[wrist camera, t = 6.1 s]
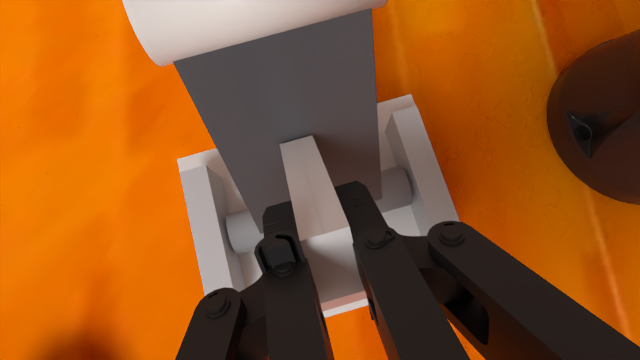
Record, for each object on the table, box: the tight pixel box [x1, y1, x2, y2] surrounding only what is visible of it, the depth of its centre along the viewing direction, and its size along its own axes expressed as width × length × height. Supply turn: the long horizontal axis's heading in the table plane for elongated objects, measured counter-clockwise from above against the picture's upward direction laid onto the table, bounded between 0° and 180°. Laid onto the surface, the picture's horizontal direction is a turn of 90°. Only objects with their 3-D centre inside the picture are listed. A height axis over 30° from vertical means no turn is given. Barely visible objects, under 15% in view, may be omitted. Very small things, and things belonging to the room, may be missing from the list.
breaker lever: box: [122, 0, 413, 255], centre depth 17 cm, size 3×10×15 cm
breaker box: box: [177, 94, 460, 318], centre depth 27 cm, size 12×16×13 cm
